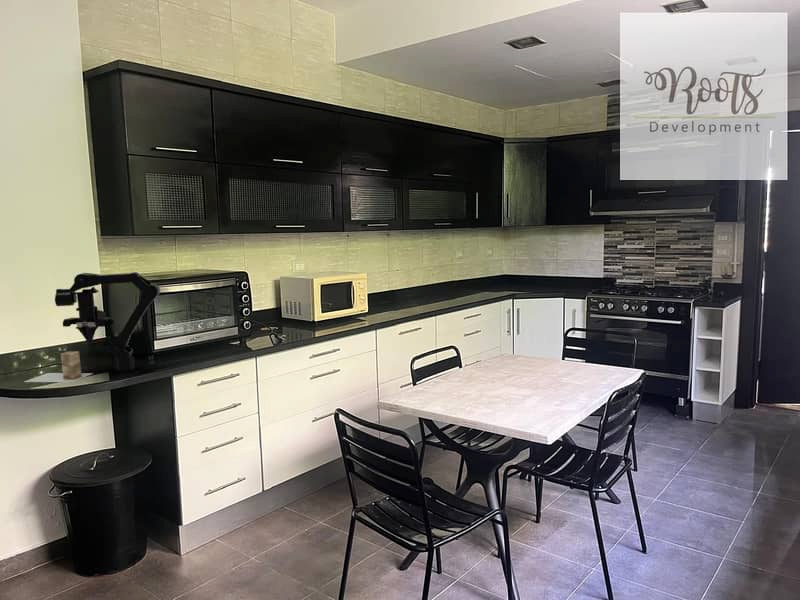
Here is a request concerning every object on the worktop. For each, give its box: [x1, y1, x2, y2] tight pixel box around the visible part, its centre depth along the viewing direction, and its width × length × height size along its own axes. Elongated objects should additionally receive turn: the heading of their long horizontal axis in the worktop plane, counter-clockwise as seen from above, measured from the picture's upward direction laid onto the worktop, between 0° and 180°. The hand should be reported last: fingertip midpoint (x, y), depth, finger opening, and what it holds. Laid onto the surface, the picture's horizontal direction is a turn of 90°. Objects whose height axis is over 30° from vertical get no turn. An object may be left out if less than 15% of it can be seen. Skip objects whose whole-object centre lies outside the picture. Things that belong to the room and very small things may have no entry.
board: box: [23, 372, 94, 383], centre depth 231 cm, size 20×13×1 cm, turn 83°
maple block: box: [60, 351, 82, 379], centre depth 229 cm, size 4×4×10 cm
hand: (90, 343), depth 236 cm, fingers closed
